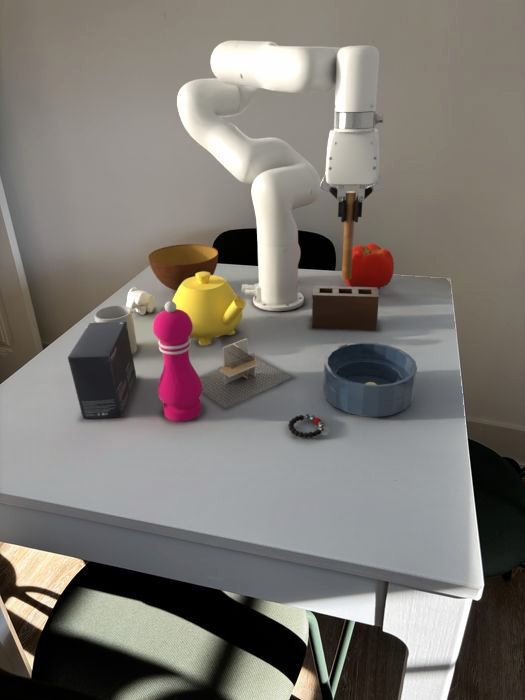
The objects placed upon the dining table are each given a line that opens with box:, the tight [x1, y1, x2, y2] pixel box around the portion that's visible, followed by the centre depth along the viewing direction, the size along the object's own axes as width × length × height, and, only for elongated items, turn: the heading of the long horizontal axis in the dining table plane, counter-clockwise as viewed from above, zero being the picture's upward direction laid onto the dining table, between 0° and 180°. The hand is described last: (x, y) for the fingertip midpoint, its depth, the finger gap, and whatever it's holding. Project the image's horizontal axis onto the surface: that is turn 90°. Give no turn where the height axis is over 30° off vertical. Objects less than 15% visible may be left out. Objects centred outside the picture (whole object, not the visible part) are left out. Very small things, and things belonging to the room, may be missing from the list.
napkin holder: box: [218, 337, 260, 384], centre depth 94 cm, size 3×7×8 cm, turn 129°
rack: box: [311, 285, 380, 332], centre depth 115 cm, size 6×14×8 cm, turn 82°
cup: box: [85, 304, 138, 356], centre depth 105 cm, size 7×10×9 cm
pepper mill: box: [152, 300, 203, 423], centre depth 83 cm, size 7×7×20 cm
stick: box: [341, 190, 357, 280], centre depth 107 cm, size 2×2×18 cm
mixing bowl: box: [323, 341, 418, 418], centre depth 89 cm, size 15×15×6 cm
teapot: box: [172, 271, 246, 346], centre depth 110 cm, size 20×16×14 cm
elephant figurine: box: [125, 286, 156, 316], centre depth 124 cm, size 7×8×6 cm
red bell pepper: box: [343, 243, 395, 290], centre depth 135 cm, size 14×13×10 cm
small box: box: [67, 321, 137, 419], centre depth 90 cm, size 13×7×12 cm, turn 1°
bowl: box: [148, 243, 219, 293], centre depth 136 cm, size 18×18×10 cm
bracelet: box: [287, 413, 325, 439], centre depth 82 cm, size 6×6×1 cm
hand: (349, 219), depth 106 cm, fingers closed on stick, 2 cm apart
